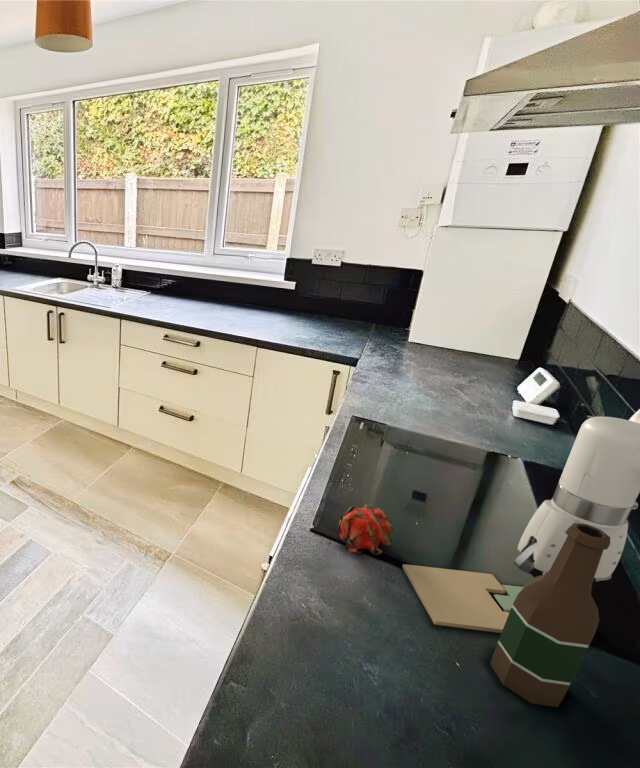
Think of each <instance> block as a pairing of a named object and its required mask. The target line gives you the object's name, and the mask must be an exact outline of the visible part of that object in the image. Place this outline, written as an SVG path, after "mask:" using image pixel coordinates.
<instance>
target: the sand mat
mask: <svg viewBox="0 0 640 768" xmlns="http://www.w3.org/2000/svg"><path fill="white" fill-rule="evenodd" d="M401 568H402V569H403V571H404V573H405V575H406V577H407V578H408V580H409V583H410V584H411V586H412V587H413V589H414V591H415V593H416V595H417V596H418V598H419V600H420V602H421V603H422V605H423V607H424V608H425V611H426V612H427V614H428V616H429V617H430V620H431V621H432V623H433V624H434V625H436V626H437V625H438V626H445V627H451V628H458V629H459V628H460V629H468V630H476V631H482V632H483V631H484V632H490V633H491V632H492V633H497V634H501V633H502V630H503V628H504V625H505V623H506V620H507V618H508V615H509V611H504V610H502V608H501V606H500V605H499V604H498V602H496V601H495V598H493V597H492V595H491V594H490V593H494V594H500V595H505V594H506V592H505V589H504V588H503V587H502V586H501V585H502V584H501V583H500V581H498V579H497V578H496V577H495V576H494V574H493V573H484V572H477V571H467V570H458V569H449V568H443V567H442V568H441V567H432V566H424V565H414V564H405V563H403V564H402V567H401Z"/></svg>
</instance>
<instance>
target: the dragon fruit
mask: <svg viewBox="0 0 640 768" xmlns="http://www.w3.org/2000/svg"><path fill="white" fill-rule="evenodd" d="M393 532H395V529H394V527H393V525H392V519H391V518H390V517H389V516H388V515H387V513H386V511H385V510H383V509H382V508H381V507H376V508H373V507H372V506H370V505H368V504H365V505H364V506H363V507H357V506H355V505H354V506H351V507H349V508H348V509H347V510H346V511H345V512H344V513H343V514H341V516H340V517H339V523H338V527H337V534H338V535H339V538H340V539H341V541H342V542H343V543H345V545H346V546H343V547H344V549H347V550H348V552H349V553H354V554H361V553H362V552H363V550H365V549H366V550H368V552H369V553H370V554H373V555H375V556H379V555H380V554H382V553H383V550H382V549H381V548H379V545H380V544H383V546H390V545H393V543H394V541H393V539H392V538H391V539H389V538H390V534H392V533H393Z"/></svg>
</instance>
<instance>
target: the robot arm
mask: <svg viewBox="0 0 640 768" xmlns="http://www.w3.org/2000/svg"><path fill="white" fill-rule="evenodd" d="M571 447H572V448H571V450H570V453H569V455H568V458H567V460H566V462H565V465H564V468H563V470H562V473H561V475H560V478H559V479H558V480H559V481H558V483H557V485H556V488H555V490H554V493H553V496H552V498H551V499H545V500H543V502H542V503H541V504H540V505H539V506H538V508H537V509H536V511H535V512H534V513H533V515H532V517H531V518H530V520H529V522H528V523H527V525H526V527H525V529H524V531H523V533H522V535H521V537H520V540H519V542H518V545H517V551H518V552H520V554H519V555H518V556H517V557H516V558H515V559H514V560H513V564H514V565H515V566H516V567H517V569H518V570H520V571H522V572H524V573H526V574H527V575H531V576H532V577H533V578H534V577H537V576H541V575H543V572H546V573H545V574H547V573H548V571H549V570H550V569H551V567H552V565H553V563H554V561H555V559H556V557H557V555H558V553H559V552H560V550H561V548H562V546H563V544H564V542H565V540H566V538H567V536H568V535H567V534H566V533H565V532H566V530H567V529H568V528H569V527H570V526H571V525H572V524H573V523H580V524H587V525H590V526H592V527H595V528H597V529H600V530H602V531H603V532H604V533H606V534H607V535H608V536H609V537H610V546H609V547H608V549H605V550H603V553H602V556H601V559H600V562H599V565H598V568H597V571H596V574H595V577H594V580H593V582H592V584H594V583H595V582H600V581H602V582H603V581H608V580H611V579H612V574H613V573H614V572H615V570H616V568H617V566H618V564H619V562H620V559H621V558H622V554H623V551H624V549H625V545H626V540H627V536H628V530H629V521H628V517H629V515H630V513H631V512H632V510H637V509H638V507H639V503H638V502H637V498H638V496H639V494H640V408H639V409H637V411H636V412H635V413H634V414H633V415H632V416H630V418H629V419H624V418H619V417H613V416H593V417H590V418H587V419H585V420H584V421H583V423H582V424H581V425H580V428H579V430H578V433H577V435H576V437H575V440H574V442H573V445H572V446H571Z"/></svg>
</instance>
